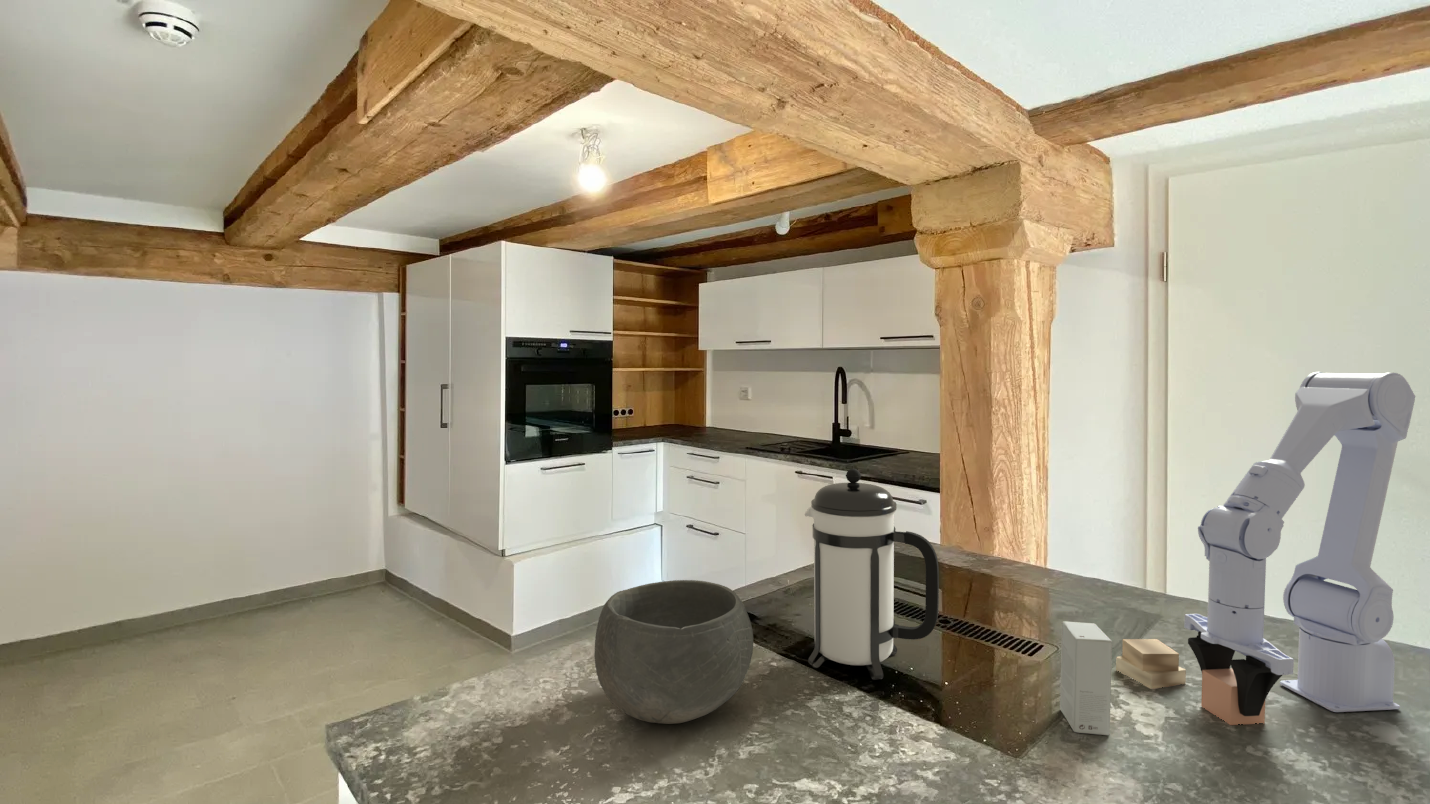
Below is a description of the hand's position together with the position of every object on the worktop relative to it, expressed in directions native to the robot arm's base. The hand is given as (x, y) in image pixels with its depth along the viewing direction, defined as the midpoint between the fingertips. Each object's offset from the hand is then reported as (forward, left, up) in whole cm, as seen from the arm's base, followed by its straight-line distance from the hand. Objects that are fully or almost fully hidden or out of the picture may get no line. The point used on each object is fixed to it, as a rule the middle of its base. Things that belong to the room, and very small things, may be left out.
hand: (1232, 704), depth 87 cm
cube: (0, 0, -1) cm, 1 cm away
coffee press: (+43, -20, -2) cm, 47 cm away
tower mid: (+3, -11, +1) cm, 11 cm away
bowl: (+72, -8, -2) cm, 72 cm away
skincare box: (+20, 0, -2) cm, 20 cm away
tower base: (+3, -11, -2) cm, 11 cm away
